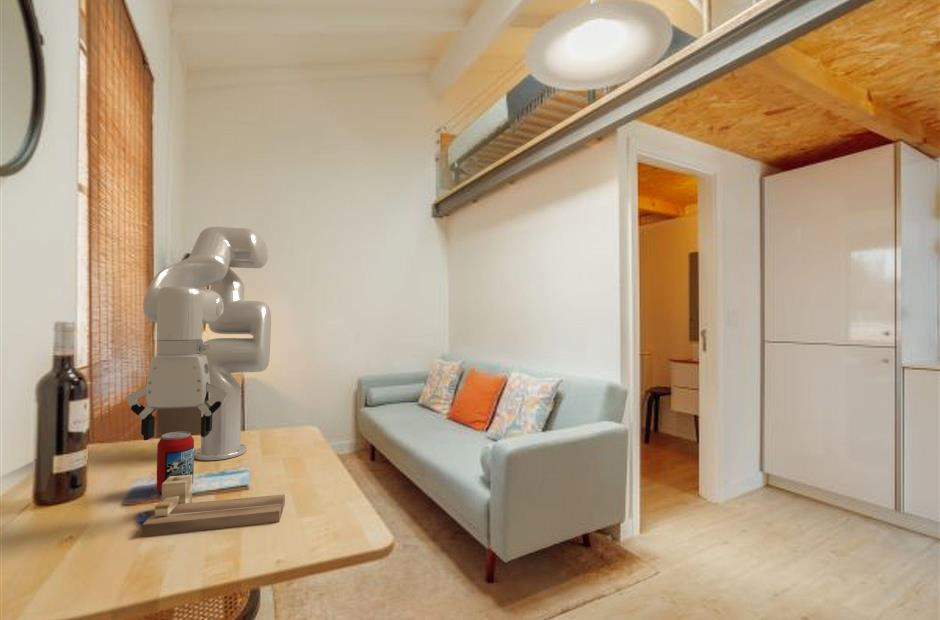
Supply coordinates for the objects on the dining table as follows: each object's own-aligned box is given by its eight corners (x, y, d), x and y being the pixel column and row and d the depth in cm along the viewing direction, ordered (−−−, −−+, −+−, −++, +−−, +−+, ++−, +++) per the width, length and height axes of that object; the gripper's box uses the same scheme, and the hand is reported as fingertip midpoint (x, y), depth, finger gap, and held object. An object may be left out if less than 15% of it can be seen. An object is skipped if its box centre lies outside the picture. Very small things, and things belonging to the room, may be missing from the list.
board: (160, 516, 85) (160, 505, 85) (284, 504, 91) (284, 494, 91) (142, 536, 77) (142, 524, 77) (279, 521, 83) (279, 510, 83)
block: (169, 506, 89) (169, 475, 89) (191, 504, 90) (192, 473, 91) (148, 530, 80) (148, 494, 80) (173, 527, 81) (174, 492, 81)
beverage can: (175, 496, 94) (176, 439, 94) (148, 494, 95) (149, 437, 95) (200, 485, 101) (201, 431, 101) (175, 482, 102) (176, 429, 102)
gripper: (232, 347, 94) (231, 430, 94) (137, 348, 89) (134, 435, 89) (223, 349, 87) (221, 438, 86) (118, 350, 82) (116, 445, 82)
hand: (177, 436), depth 88 cm, fingers open, 9 cm apart
